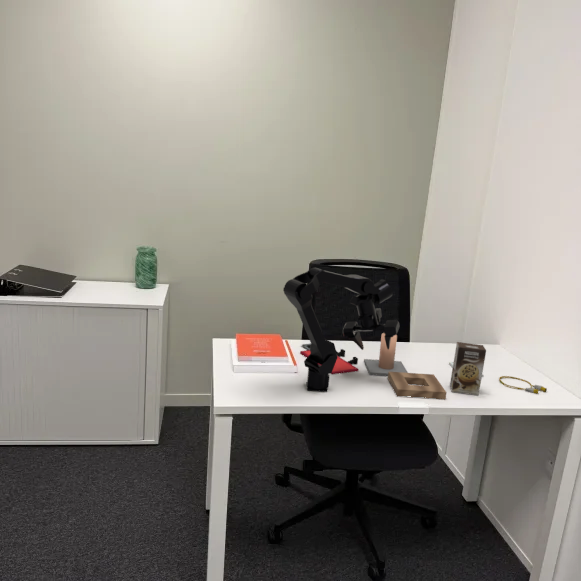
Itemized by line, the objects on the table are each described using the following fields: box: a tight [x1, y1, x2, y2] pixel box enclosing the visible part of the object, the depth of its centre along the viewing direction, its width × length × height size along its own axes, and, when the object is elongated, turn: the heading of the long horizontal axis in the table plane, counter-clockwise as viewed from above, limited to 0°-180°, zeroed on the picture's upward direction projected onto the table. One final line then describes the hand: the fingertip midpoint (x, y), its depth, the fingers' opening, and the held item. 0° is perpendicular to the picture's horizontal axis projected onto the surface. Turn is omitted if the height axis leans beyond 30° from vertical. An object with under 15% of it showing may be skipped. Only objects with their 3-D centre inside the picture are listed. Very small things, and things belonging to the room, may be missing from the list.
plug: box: [378, 332, 398, 369], centre depth 223 cm, size 6×6×12 cm
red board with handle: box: [299, 343, 359, 375], centre depth 231 cm, size 30×3×15 cm
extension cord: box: [498, 375, 548, 395], centre depth 219 cm, size 12×16×2 cm
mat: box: [363, 358, 409, 377], centre depth 224 cm, size 14×14×1 cm
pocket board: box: [387, 372, 447, 400], centre depth 208 cm, size 16×16×2 cm
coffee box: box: [449, 341, 487, 396], centre depth 208 cm, size 9×6×16 cm
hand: (375, 348), depth 213 cm, fingers open, 9 cm apart
